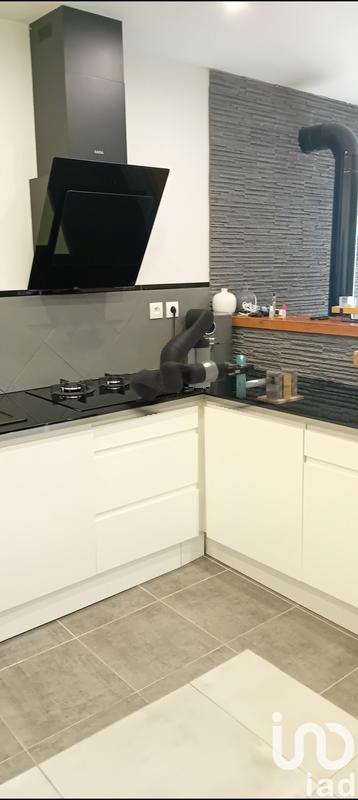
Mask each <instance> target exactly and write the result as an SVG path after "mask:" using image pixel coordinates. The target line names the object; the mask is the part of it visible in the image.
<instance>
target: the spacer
mask: <svg viewBox="0 0 358 800" xmlns="http://www.w3.org/2000/svg"><path fill="white" fill-rule="evenodd" d="M276 372H281V371H277V370H276ZM281 373H282V399H285V398H290V397H291V378H292V374H291V373H286V372H281ZM274 378H275V377H274Z"/></svg>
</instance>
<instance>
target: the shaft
mask: <svg viewBox="0 0 358 800" xmlns="http://www.w3.org/2000/svg"><path fill="white" fill-rule="evenodd" d="M246 357H247V356H246V355H244V354H237V355H236V362H237V364H240V365H247V363H246V359H247V358H246ZM237 367H238V366H237ZM246 375H247V374H241V375H236V397H237V398H246V394H247V393H246V391H247V390H246V389H250V388H254V387H261V386H266V385H267V384H272V383H275V378H274V377H270V378H266V377H265V378H258V379H253V380H247V379H246V378H247V377H246ZM246 380H247V381H246Z"/></svg>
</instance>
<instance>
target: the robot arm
mask: <svg viewBox="0 0 358 800" xmlns="http://www.w3.org/2000/svg"><path fill="white" fill-rule="evenodd" d="M184 317H185V318H184V327H185V330H184V331H181V333H178V334H177V335H175V336H173V337H172V338H171V339H169V341H168V342H166V343H165V345H164V346H163V347H162V349H161V351H160V355H159V356H160V357H159V369H158V370H151V369H146V368H145V369H140V370H139V371H138V372H136V373H135V374H134V376H132V378H131V379H130V382H129V386H130V388H131V389H132V390H133V391H134V392H135V393H136V394H137V395H138V396H139V397H140V398H141V399H142V400H143V401H145V402H146V403H147V402H151V401H152V400H154V399H155V398H156V397H157V396H158V394H159V393H160V392H161V391H162V392H164V393H169V394H177V393H179V392H180V391H181V390H183V388H184V382H185V383H186V384H188V388H189V387H193V388H192V389H194V388H203V389H207V388H206V387H209V388H211V383H215V382H220V381H223V380H225V379H226V377H227V376H232V375H234V376H237V375H241V374H246V375H247V374H250V372H252V371H255V365H254V364H246V365H240V364H237V361H231V362H229V361H224V360H223V359H220V358H218V359H212V360H211V357H210V355H211V354H210V352H211V350H210V349H211V348H210V346H211V345H210V342H211V341H210V340H209V339H207V338H205V337H204V336H205V335H206V334H207V333H208V332H209V331H211V328H212V327H213V325H214V321H215V316H214V313H213V311H211V310H210V309H206V308H205V309H204V308H190V309H188V310H187V311H186V313H185V316H184ZM186 357H187V358H188V359H187V360H188V361H187V363H183V361H184V360H185V359H186ZM237 366H238V367H237Z"/></svg>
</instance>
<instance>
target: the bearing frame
mask: <svg viewBox="0 0 358 800" xmlns="http://www.w3.org/2000/svg"><path fill="white" fill-rule="evenodd" d="M280 370H281V371H280V372H277V370H275V371H274V370H267V371H266V376H265V378H270V377H275V383H272V384H267V385H265V387H266V390H265V391H266V393H265V394H266V395H262V396H257V397H256V400H257V401H260V402H261V401H262V402H264V403H270V404H274V405H281V404H286V403H292V402H295V401H296V402H297V401H300V400H304V395H299V394H298V370H297V369H292V368H287V367H285V368H281V369H280ZM281 372H286V373H291V374H292V378H291V397H290V398H285V399H282V373H281Z"/></svg>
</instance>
